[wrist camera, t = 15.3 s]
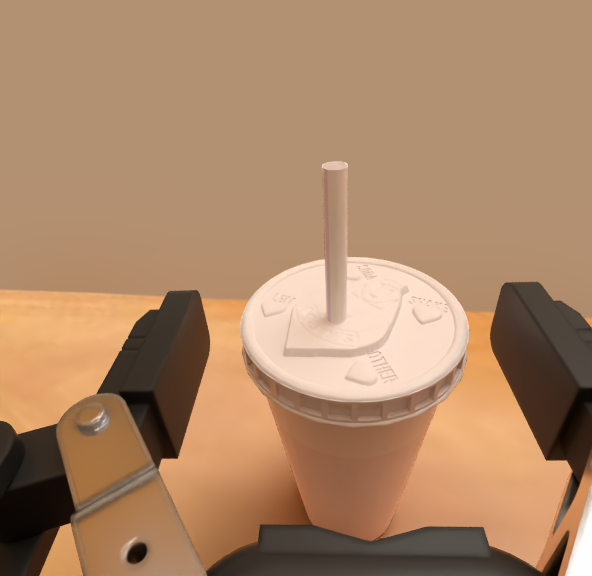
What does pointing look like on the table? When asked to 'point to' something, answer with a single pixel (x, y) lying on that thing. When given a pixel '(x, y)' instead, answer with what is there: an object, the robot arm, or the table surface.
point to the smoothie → (352, 371)
